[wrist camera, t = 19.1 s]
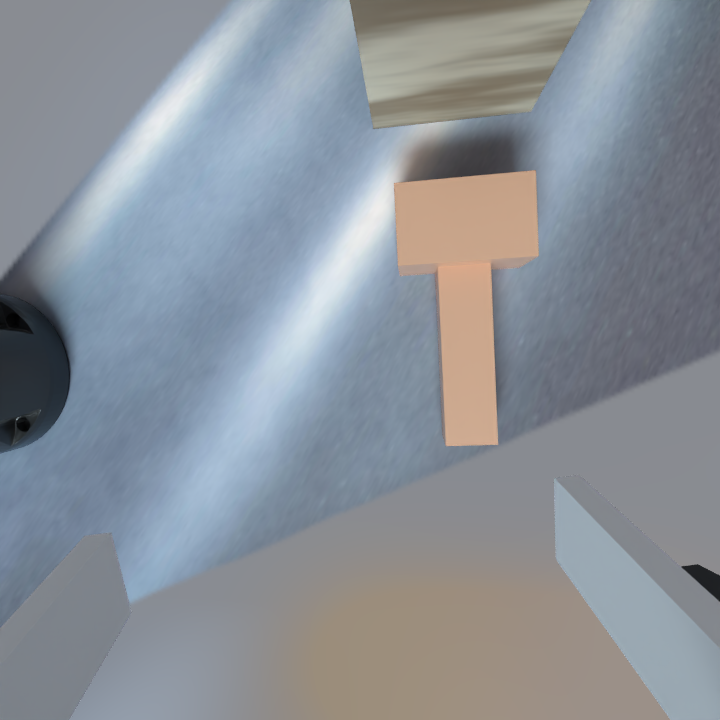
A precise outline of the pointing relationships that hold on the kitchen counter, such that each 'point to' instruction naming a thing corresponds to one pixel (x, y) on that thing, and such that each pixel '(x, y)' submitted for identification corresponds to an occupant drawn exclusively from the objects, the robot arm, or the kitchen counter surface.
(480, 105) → the pedestal
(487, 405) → the t block
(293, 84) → the kitchen counter surface
